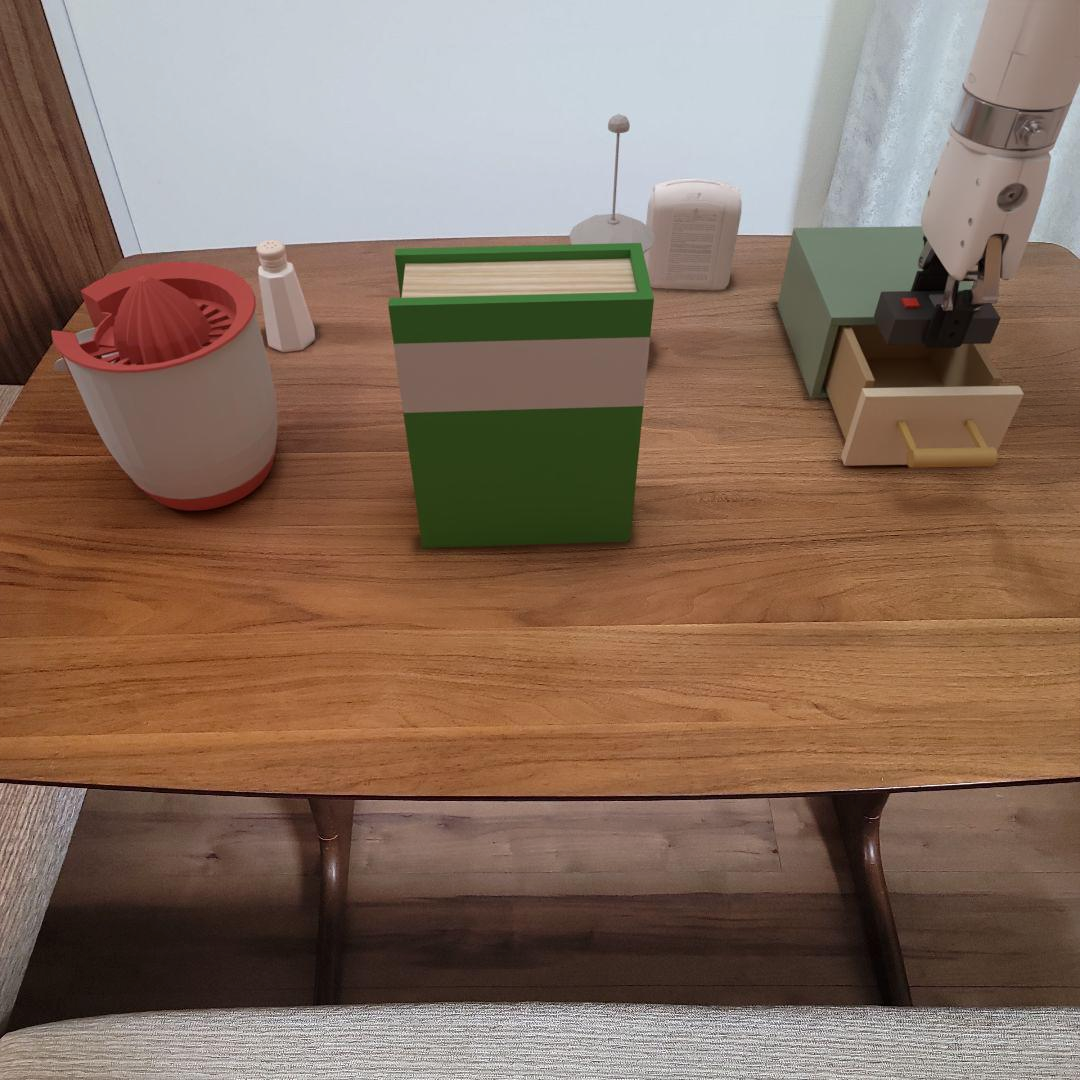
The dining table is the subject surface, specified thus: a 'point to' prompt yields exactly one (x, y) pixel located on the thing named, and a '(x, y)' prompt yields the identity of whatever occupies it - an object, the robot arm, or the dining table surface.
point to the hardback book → (523, 389)
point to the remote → (926, 318)
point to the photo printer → (692, 233)
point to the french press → (613, 213)
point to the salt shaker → (283, 300)
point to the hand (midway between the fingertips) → (932, 326)
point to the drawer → (916, 402)
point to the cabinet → (841, 286)
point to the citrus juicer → (177, 381)
